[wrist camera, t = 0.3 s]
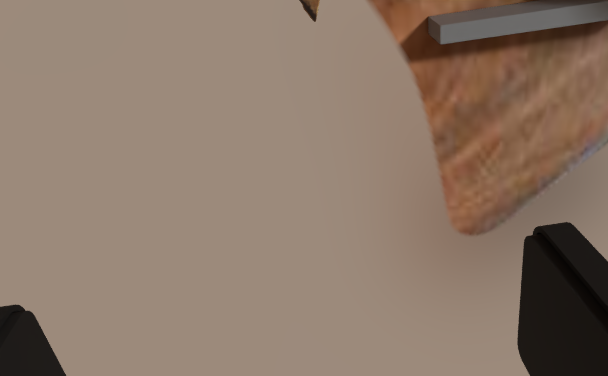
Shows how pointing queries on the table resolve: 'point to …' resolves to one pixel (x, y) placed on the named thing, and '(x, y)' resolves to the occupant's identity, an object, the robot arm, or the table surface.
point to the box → (515, 19)
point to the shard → (311, 8)
